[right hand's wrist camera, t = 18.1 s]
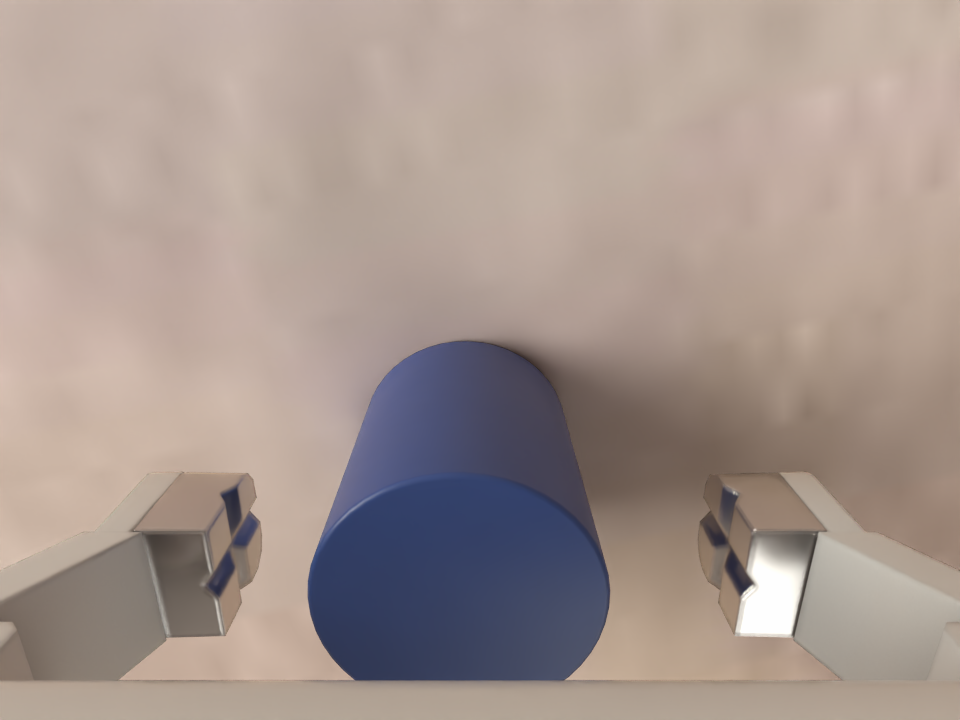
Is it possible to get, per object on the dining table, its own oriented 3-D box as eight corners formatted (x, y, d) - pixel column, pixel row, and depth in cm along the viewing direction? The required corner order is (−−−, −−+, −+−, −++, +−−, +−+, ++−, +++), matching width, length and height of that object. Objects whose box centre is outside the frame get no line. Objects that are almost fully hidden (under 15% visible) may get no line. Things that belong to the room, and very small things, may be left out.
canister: (569, 509, 13) (612, 706, 9) (381, 524, 13) (334, 725, 9) (560, 331, 12) (609, 461, 7) (350, 349, 12) (277, 488, 7)
